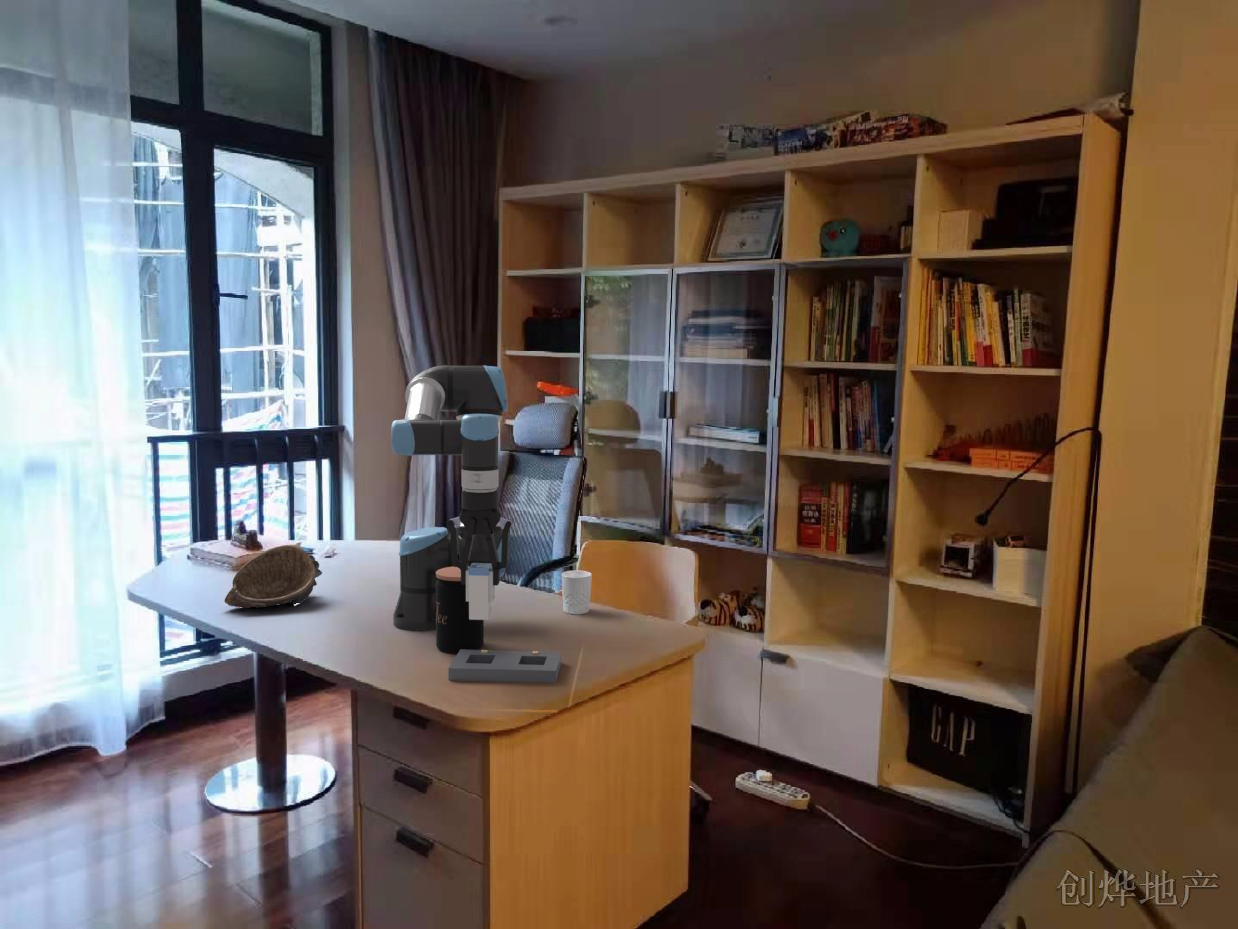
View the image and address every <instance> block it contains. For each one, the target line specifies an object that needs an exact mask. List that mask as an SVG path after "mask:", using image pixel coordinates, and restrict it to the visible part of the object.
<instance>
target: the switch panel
mask: <svg viewBox="0 0 1238 929" xmlns="http://www.w3.org/2000/svg"><path fill="white" fill-rule="evenodd" d="M561 666H562V651H544V650H541V651H540V650H503V649H501V650H499V649H498V650H497V649H479V650H465V649H460V651H459V652H458V654H456V655H455V657H454V658H453V660H452V662H451V663H450V665H449V667H448V668H447V670H448V671H447V672H448V675H447V676H448V681H463V682H464V681H469V682H506V683H507V682H508V683H509V682H510V683H539V684H540V683H541V684H542V683H546V684H549V683H550V684H555V683H557V680H558V678H559V674H560V673H559V672H560V669H561Z"/></svg>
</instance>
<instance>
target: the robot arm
mask: <svg viewBox="0 0 1238 929" xmlns="http://www.w3.org/2000/svg"><path fill="white" fill-rule="evenodd" d="M504 374H505V373H504V372H503V370H502V368H500V367H499V366H494V365H493V366H492V365H490V366H489V365H486V364H485V365H448V364H447V365H445V364H444V365H443V364H442V365H437V366H433V367H430V368H427V369H425V370H423V371H421V372H419V373H418V374H417V375H415V376H414V377H413V378H412V379H411V380H410V381H409V383H408V384H407V386H406V390H405V394H404V395H405V397H404V398H405V403H406V404H407V405H406V409H405V414H404V415H405V416H404V418H402V419H396V420H395V419H394V420H393V421H392V423H391V428H390V429H391V430H390V431H391V432H390V440H391V442H390V444H391V451H392V452H393V454H394V455H397V456H400V455H401V456H403V455H404V456H408V457H410V456H411V457H412V456H461V488H462V491H461V511H460V514H459V515H458V516H457V517H454V518H453V517H451V518H450V519H449V520H447V526H448V528H446V527H444V526H441V527H440V526H439V527H438V526H434V527H433V526H432V527H431V526H430V527H424V528H419V529H414V530H412V531H409V532H406V533H404V534H403V535H402V536H401V538H400V539H399V540H400V541H399V553H398V556H399V589H400V590H399V595H398V598H397V602H396V605H395V608H394V611H393V614H392V617H393V618H392V620H393V621H392V622H393V625H394V626H395V627H397V628H399V629H401V630H403V629H404V630H408V631H430V630H436V581H437V580H438V578H437V577H436V571H437V570H439V569H442V568H446V567H457V568H459V569H460V570H461V584H462V585H466V601H469V568H468V566H470V565H471V564H472V563H491V564H492V568H491V569H490V571H489V602H492V603H493V602H494V600H495V598H496V595H495V594H496V592H495V589H496V588H495V586H499V584H500V582H501V581H500V580H501V578H502V577H503V576H504V574H505V571H506V568H507V567H508V565H509V560H510V531H511V529H512V527H513V523H514V521H513V520H512V519H511V518H510V519H506V518H504V517H502V516H501V513H500V511H499V490H498V489H497V488H499V485H500V484H499V480H500V479H499V476H500V475H499V469H500V468H499V434H500V427H499V423H500V422H501V421H502V420H503V413H506V412H508V410H509V403H508V393H507V386H506V380H505V376H504ZM440 412H455V418H456V419H440ZM449 531H450V533H449Z"/></svg>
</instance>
